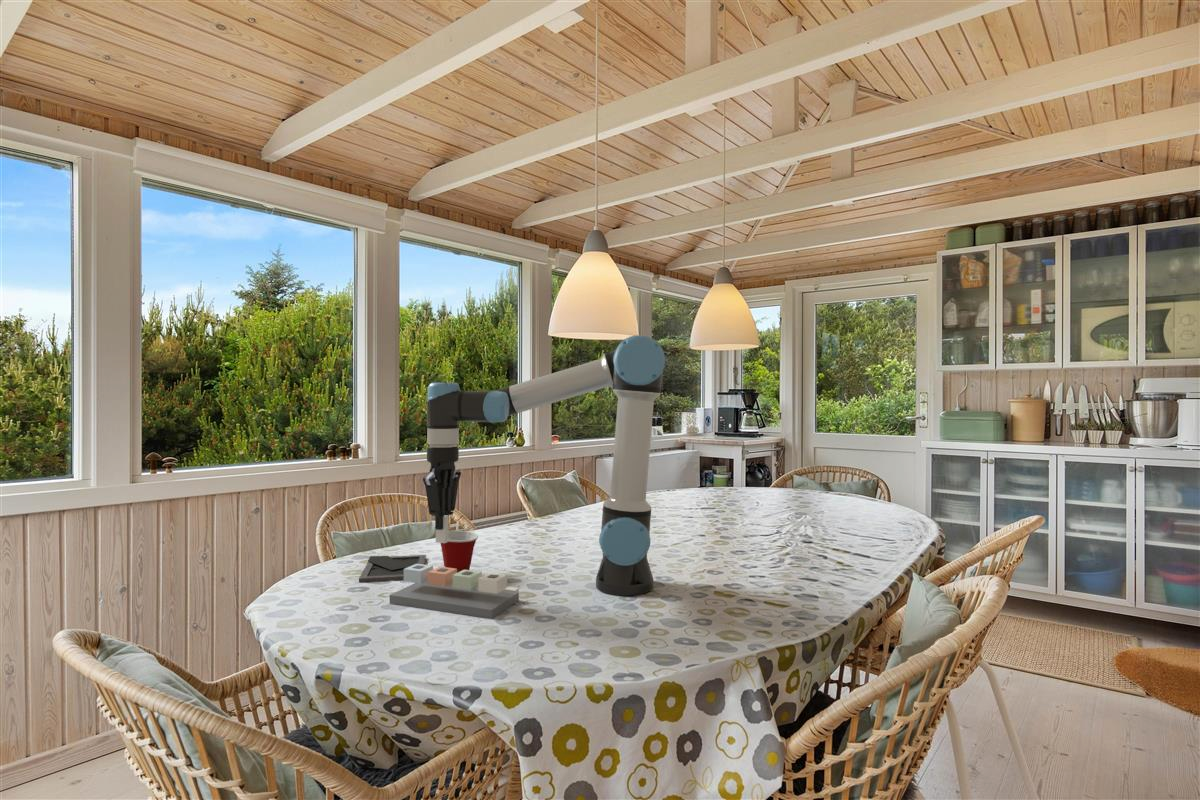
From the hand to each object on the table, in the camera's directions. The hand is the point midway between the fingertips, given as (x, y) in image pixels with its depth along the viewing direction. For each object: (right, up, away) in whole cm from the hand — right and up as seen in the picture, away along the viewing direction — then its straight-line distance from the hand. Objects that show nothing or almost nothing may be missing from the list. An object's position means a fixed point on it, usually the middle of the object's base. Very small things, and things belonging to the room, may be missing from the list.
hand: (442, 541), depth 151 cm
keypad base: (+3, -14, -1) cm, 15 cm away
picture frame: (-20, -15, +26) cm, 36 cm away
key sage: (+7, -10, -2) cm, 12 cm away
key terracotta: (0, -10, 0) cm, 10 cm away
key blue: (-6, -10, +3) cm, 12 cm away
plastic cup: (0, -14, +18) cm, 23 cm away
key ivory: (+13, -10, -5) cm, 17 cm away
